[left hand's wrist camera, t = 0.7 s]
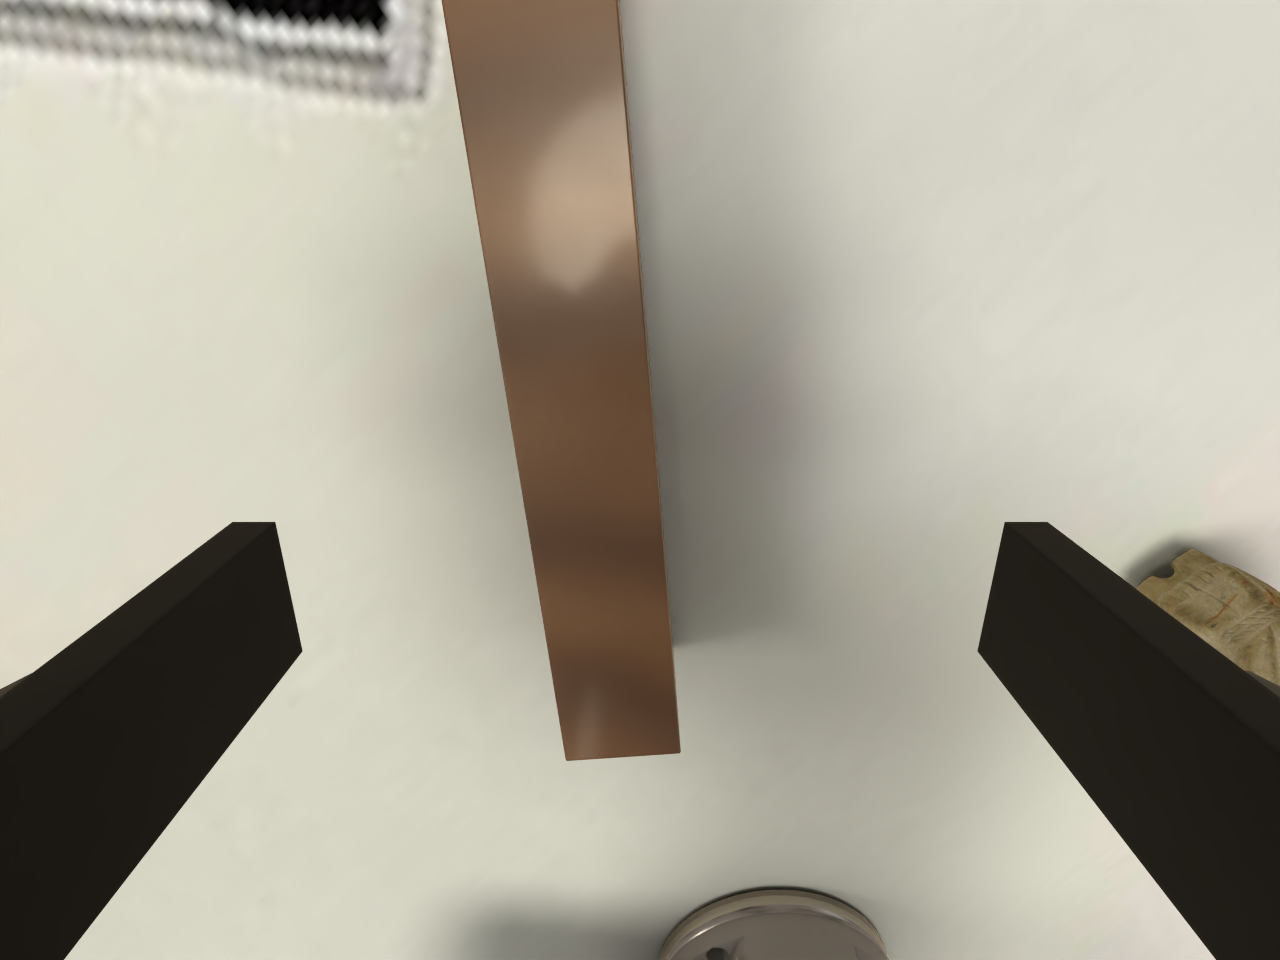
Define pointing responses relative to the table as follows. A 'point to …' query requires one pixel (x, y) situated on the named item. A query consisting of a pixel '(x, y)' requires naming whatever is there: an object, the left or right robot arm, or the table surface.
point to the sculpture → (1223, 610)
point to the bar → (573, 352)
